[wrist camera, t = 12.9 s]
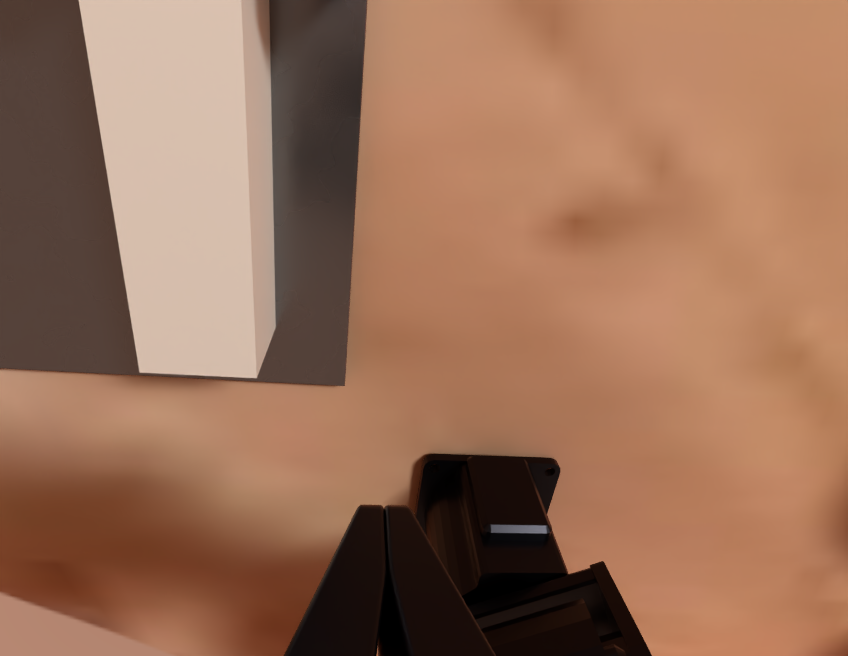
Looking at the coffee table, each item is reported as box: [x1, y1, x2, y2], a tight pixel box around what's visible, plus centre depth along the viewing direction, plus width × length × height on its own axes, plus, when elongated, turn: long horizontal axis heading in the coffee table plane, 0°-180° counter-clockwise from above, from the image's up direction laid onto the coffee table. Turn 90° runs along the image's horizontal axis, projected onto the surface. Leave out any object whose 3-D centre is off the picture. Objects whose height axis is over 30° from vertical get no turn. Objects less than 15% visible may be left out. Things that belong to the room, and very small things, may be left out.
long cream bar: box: [79, 0, 276, 378], centre depth 14 cm, size 17×4×4 cm, turn 173°
